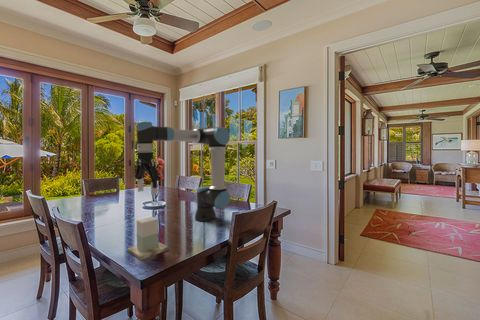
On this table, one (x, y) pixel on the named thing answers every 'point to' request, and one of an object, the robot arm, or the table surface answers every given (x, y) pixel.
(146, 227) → the cream brick
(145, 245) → the sage brick
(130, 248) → the base plate
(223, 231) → the table surface
